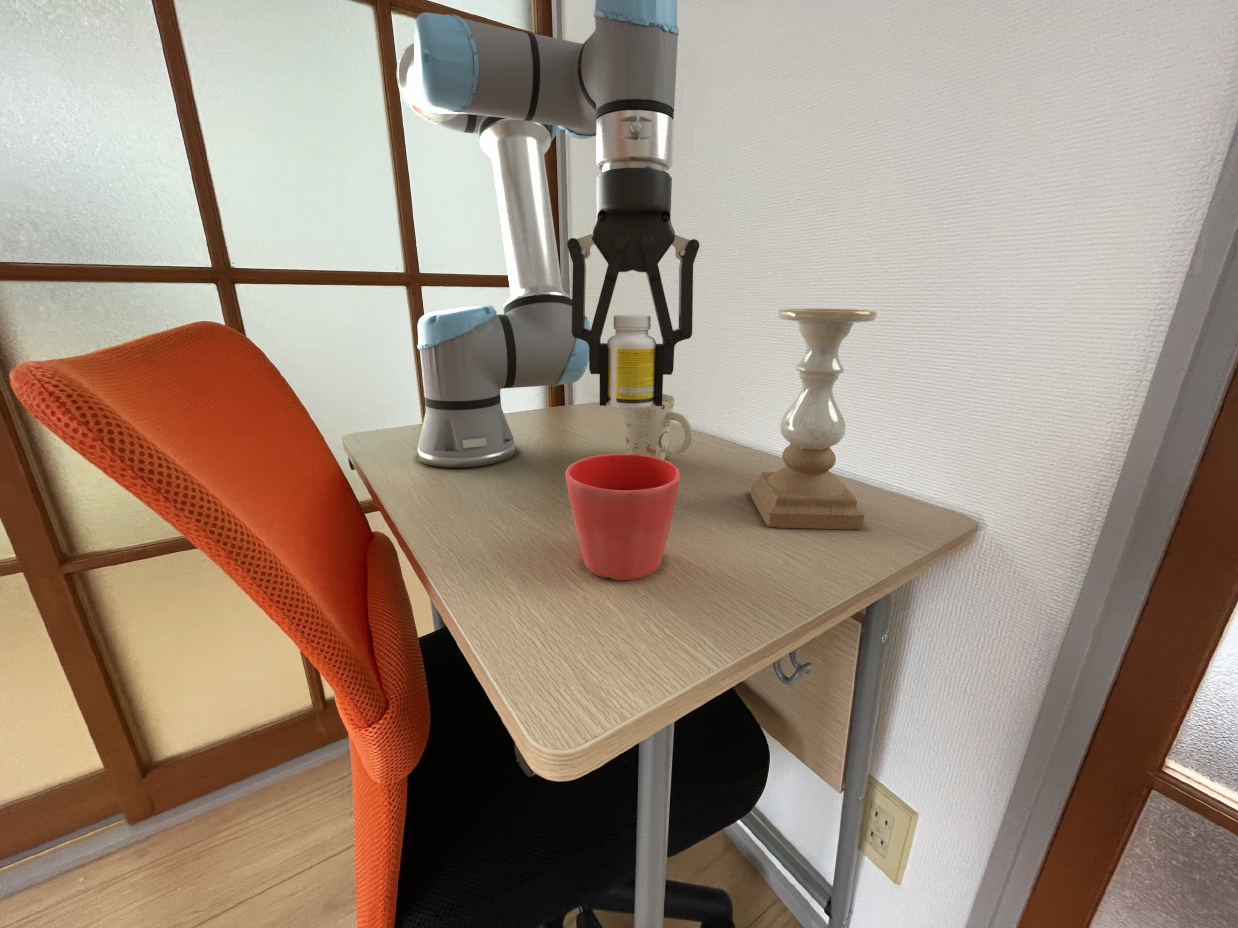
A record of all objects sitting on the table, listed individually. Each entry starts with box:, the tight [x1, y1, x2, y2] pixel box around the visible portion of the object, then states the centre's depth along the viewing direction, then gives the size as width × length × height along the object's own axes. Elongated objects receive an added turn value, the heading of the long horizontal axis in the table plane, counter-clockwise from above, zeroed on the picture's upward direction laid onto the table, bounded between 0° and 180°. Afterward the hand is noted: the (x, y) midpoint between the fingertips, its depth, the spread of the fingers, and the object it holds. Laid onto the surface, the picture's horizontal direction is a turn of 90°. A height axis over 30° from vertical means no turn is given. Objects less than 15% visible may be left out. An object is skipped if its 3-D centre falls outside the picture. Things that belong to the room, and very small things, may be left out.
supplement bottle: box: [606, 314, 657, 410], centre depth 58 cm, size 5×5×10 cm
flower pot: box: [565, 453, 681, 581], centre depth 51 cm, size 11×11×10 cm
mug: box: [621, 393, 694, 460], centre depth 83 cm, size 8×13×10 cm, turn 54°
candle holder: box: [750, 308, 878, 530], centre depth 62 cm, size 11×11×24 cm
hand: (630, 403), depth 59 cm, fingers closed on supplement bottle, 5 cm apart
